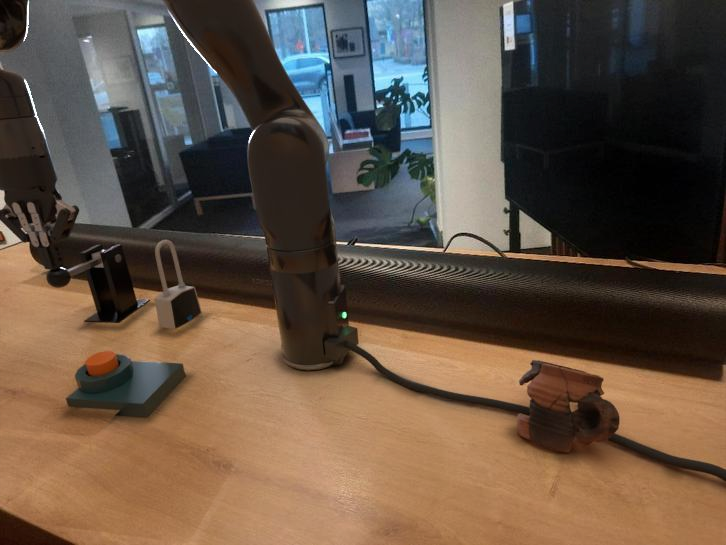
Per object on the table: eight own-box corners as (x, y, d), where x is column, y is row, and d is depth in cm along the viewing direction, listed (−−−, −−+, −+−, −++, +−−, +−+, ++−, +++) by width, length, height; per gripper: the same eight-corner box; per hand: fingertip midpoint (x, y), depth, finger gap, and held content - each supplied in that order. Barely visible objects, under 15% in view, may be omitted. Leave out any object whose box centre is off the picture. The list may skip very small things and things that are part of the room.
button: (124, 362, 66) (121, 351, 65) (106, 377, 63) (102, 366, 62) (101, 361, 67) (97, 350, 66) (82, 376, 64) (78, 364, 63)
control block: (186, 376, 68) (179, 351, 67) (147, 418, 60) (139, 391, 59) (112, 372, 71) (104, 348, 69) (65, 412, 63) (55, 385, 61)
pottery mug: (491, 425, 55) (506, 352, 56) (551, 433, 59) (564, 365, 60) (580, 468, 44) (599, 377, 45) (646, 474, 48) (662, 391, 49)
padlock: (187, 314, 88) (168, 233, 82) (205, 317, 86) (187, 234, 80) (158, 331, 82) (136, 246, 77) (177, 335, 80) (156, 247, 75)
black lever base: (120, 328, 84) (100, 257, 80) (85, 326, 86) (63, 257, 81) (151, 305, 93) (135, 240, 88) (119, 304, 94) (101, 240, 89)
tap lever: (62, 291, 75) (56, 270, 74) (44, 290, 75) (38, 270, 74) (119, 264, 87) (115, 247, 86) (103, 264, 87) (99, 247, 86)
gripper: (-46, 158, 67) (-2, 276, 73) (36, 154, 64) (74, 277, 71) (2, 150, 74) (38, 259, 80) (78, 146, 71) (109, 259, 77)
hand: (55, 267), depth 75 cm, fingers closed
